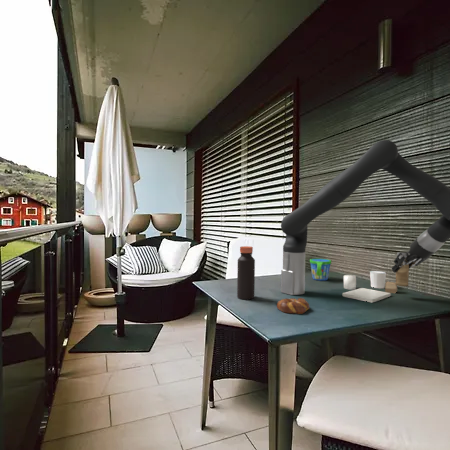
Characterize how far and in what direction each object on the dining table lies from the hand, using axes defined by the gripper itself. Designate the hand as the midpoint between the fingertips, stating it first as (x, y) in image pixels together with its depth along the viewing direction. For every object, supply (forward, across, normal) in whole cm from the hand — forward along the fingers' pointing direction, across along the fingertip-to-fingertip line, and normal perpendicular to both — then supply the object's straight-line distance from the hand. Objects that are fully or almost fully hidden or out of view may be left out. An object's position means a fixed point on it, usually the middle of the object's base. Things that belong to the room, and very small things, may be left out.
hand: (398, 270), depth 124 cm
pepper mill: (+3, 0, +5) cm, 6 cm away
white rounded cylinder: (+20, +8, -5) cm, 22 cm away
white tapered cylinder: (+19, -6, -4) cm, 21 cm away
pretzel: (+7, +50, +10) cm, 51 cm away
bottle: (+20, +60, -3) cm, 63 cm away
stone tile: (+11, +12, +5) cm, 16 cm away
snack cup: (+35, +9, -19) cm, 41 cm away
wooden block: (+13, -4, +3) cm, 14 cm away
